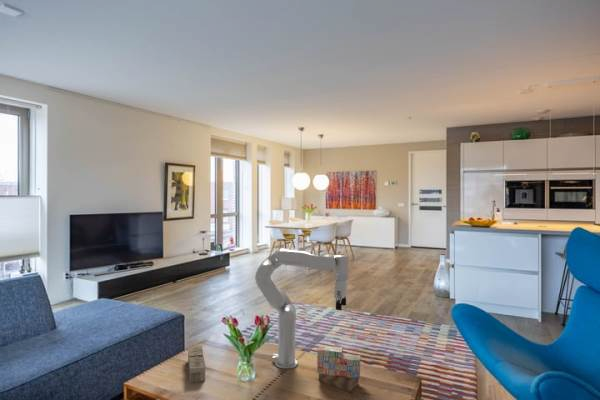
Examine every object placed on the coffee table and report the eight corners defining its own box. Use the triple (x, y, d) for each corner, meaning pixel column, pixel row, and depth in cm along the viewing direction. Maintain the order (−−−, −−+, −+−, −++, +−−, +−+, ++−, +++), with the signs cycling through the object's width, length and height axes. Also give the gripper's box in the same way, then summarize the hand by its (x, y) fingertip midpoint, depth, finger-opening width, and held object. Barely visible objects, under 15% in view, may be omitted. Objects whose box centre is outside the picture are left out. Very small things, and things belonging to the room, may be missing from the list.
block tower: (187, 361, 207) (189, 384, 179) (188, 346, 207) (189, 367, 180) (202, 360, 210) (205, 382, 182) (202, 345, 210) (205, 365, 182)
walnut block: (318, 381, 186) (318, 371, 186) (327, 374, 193) (327, 365, 193) (349, 392, 175) (350, 382, 175) (358, 385, 183) (358, 375, 183)
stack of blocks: (360, 373, 184) (360, 349, 184) (359, 379, 178) (359, 354, 178) (319, 367, 190) (319, 344, 190) (316, 373, 184) (317, 349, 184)
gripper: (339, 273, 214) (338, 302, 214) (330, 279, 198) (330, 310, 198) (351, 275, 211) (351, 304, 211) (343, 280, 195) (343, 312, 195)
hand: (340, 307), depth 204 cm, fingers open, 9 cm apart
